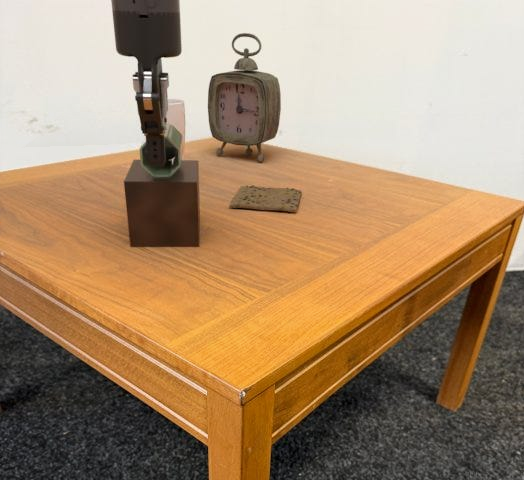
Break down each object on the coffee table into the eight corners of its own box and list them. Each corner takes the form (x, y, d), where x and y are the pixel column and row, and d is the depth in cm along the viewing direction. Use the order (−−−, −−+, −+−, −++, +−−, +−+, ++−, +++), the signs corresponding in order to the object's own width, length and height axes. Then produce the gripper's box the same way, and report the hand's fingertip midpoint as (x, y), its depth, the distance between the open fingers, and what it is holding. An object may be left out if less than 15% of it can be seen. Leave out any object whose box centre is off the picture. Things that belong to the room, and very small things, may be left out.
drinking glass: (153, 189, 104) (147, 103, 96) (152, 179, 109) (146, 97, 101) (189, 188, 105) (186, 103, 97) (186, 179, 111) (182, 98, 103)
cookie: (239, 188, 106) (239, 183, 105) (302, 193, 105) (302, 188, 104) (227, 207, 96) (227, 202, 95) (296, 213, 95) (297, 207, 94)
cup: (181, 177, 77) (179, 136, 74) (141, 177, 77) (138, 135, 74) (183, 161, 85) (182, 123, 82) (147, 161, 84) (144, 123, 81)
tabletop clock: (208, 156, 127) (206, 31, 114) (227, 149, 134) (227, 30, 120) (264, 165, 122) (269, 35, 108) (281, 157, 129) (287, 34, 115)
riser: (130, 246, 80) (123, 181, 75) (138, 218, 90) (133, 159, 85) (199, 246, 81) (197, 181, 76) (200, 219, 91) (198, 160, 86)
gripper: (120, 5, 67) (133, 152, 76) (102, 7, 56) (120, 179, 65) (182, 8, 68) (188, 153, 77) (177, 10, 56) (184, 179, 66)
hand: (157, 165), depth 71 cm, fingers closed
